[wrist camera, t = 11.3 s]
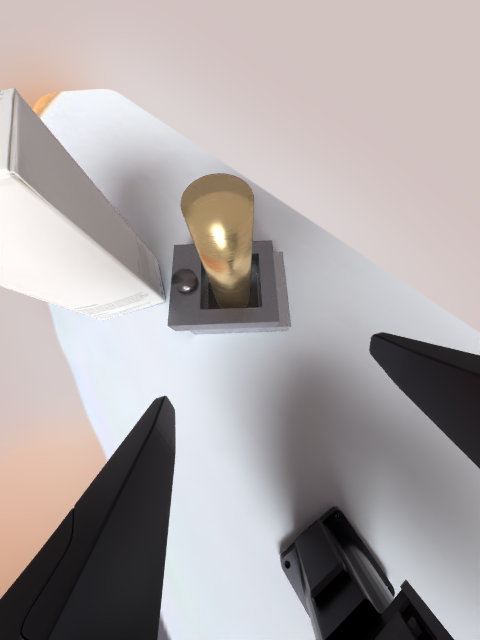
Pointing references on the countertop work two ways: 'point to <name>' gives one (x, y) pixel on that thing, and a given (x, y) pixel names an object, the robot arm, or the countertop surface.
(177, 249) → the gray open box
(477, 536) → the countertop surface
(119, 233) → the skincare box
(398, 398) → the countertop surface
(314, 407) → the countertop surface
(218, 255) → the brass pin
